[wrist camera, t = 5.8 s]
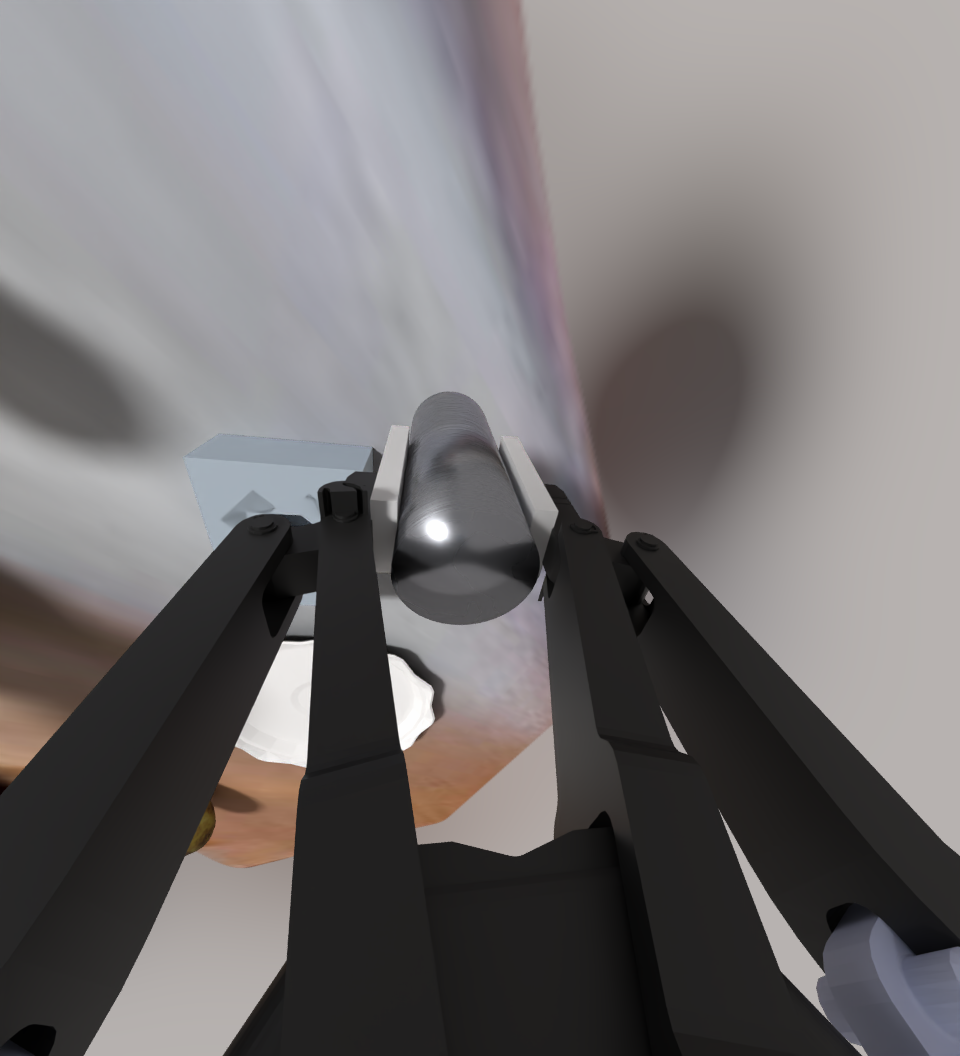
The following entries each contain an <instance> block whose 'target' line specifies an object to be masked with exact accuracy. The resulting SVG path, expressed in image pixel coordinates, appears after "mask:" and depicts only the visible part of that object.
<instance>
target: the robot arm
mask: <svg viewBox="0 0 960 1056" xmlns="http://www.w3.org/2000/svg"><path fill="white" fill-rule="evenodd" d="M408 450H409V427H408V426H397V425H391V429H390V432H389V436H388V439H387V443H386V446H385V450H384V453H383V457H382V460H381V464H380V467H379V471H378V473H373V472H359V471H355V472H354V473H352V474H351V475H349V476H348V477H347V478H346V480H345V481H334V482H330V483H327V484H325V485H323V486H321V487H320V488H319V490H318V492H317V494H318V502H319V510H320V522H317V523H314V524H309V525H304V526H296V527H291V524H290V522H289V520H288V519H287V518H285V517H283V516H281V515H276V514H259V515H255V516H251V517H249V518H247V519H244V520H242V521H241V522H240V523H238V524H237V525H236V526H235V527H234V528H233V529H232V530H231V532H230V533H229V534H228V535H227V536H226V537H225V539H224V540H223V541H222V542H221V543H220V544H219V545H218V547H217V548H216V549H215V550H214V551H213V552H212V553H211V555H210V556H209V557H208V558H207V559H206V560H205V561H204V563H203V564H202V565H201V566H200V567H199V568H198V570H197V571H196V572H195V573H194V574H193V575H192V576H191V578H190V579H189V580H188V581H187V582H186V583H185V584H184V586H183V587H182V588H181V589H180V590H179V591H178V592H177V594H176V595H175V596H174V597H173V598H172V599H171V600H170V602H169V603H168V604H167V605H166V606H165V607H164V609H163V610H162V611H161V612H160V613H159V614H158V615H157V617H156V618H155V619H154V620H153V621H152V622H151V623H150V625H149V626H148V627H147V628H146V629H145V630H144V631H143V633H142V634H141V635H140V636H139V637H138V638H137V640H136V641H135V642H134V643H133V644H132V645H131V646H130V648H129V649H128V650H127V651H126V652H125V653H124V654H123V656H122V657H121V658H120V659H119V660H118V661H117V662H116V664H115V665H114V666H113V667H112V668H111V669H110V670H109V672H108V673H107V674H106V675H105V676H104V677H103V679H102V680H101V681H100V682H99V683H98V684H97V685H96V687H95V688H94V689H93V690H92V691H91V692H90V693H89V695H88V696H87V697H86V698H85V699H84V700H83V701H82V703H81V704H80V705H79V706H78V707H77V708H76V710H75V711H74V712H73V713H72V714H71V715H70V716H69V718H68V719H67V720H66V721H65V722H64V723H63V724H62V726H61V727H60V728H59V729H58V730H57V731H56V732H55V734H54V735H53V736H52V737H51V738H50V739H49V740H48V742H47V743H46V744H45V745H44V746H43V747H42V749H41V750H40V751H39V752H38V753H37V754H36V755H35V757H34V758H33V759H32V760H31V761H30V762H29V763H28V765H27V766H26V767H25V768H24V769H23V770H22V771H21V773H20V774H19V775H18V776H17V777H16V778H15V779H14V781H13V782H12V783H11V784H10V785H9V786H8V788H7V789H6V790H5V791H4V792H3V793H2V794H1V796H0V1056H84V1054H85V1052H86V1051H87V1049H88V1047H89V1045H90V1044H91V1042H92V1040H93V1038H94V1037H95V1035H96V1033H97V1032H98V1030H99V1028H100V1026H101V1025H102V1023H103V1021H104V1019H105V1018H106V1016H107V1014H108V1012H109V1011H110V1009H111V1007H112V1005H113V1004H114V1002H115V1000H116V998H117V997H118V995H119V993H120V992H121V990H122V988H123V986H124V984H125V981H126V979H127V978H128V976H129V974H130V972H131V969H132V968H133V966H134V963H135V962H136V959H137V958H138V956H139V954H140V952H141V950H142V948H143V946H144V943H145V941H146V939H147V937H148V935H149V933H150V931H151V929H152V927H153V924H154V922H155V920H156V918H157V916H158V914H159V911H160V909H161V907H162V905H163V903H164V900H165V898H166V896H167V894H168V892H169V890H170V887H171V885H172V883H173V881H174V879H175V876H176V874H177V872H178V870H179V868H180V865H181V863H182V861H183V859H184V857H185V854H186V852H187V850H188V848H189V846H190V844H191V841H192V839H193V837H194V835H195V833H196V830H197V828H198V826H199V824H200V822H201V819H202V817H203V815H204V813H205V811H206V808H207V806H208V804H209V802H210V800H211V798H212V795H213V793H214V791H215V789H216V787H217V784H218V782H219V780H220V778H221V776H222V773H223V771H224V769H225V767H226V765H227V762H228V760H229V758H230V756H231V754H232V752H233V749H234V747H235V745H236V743H237V741H238V738H239V736H240V734H241V732H242V730H243V727H244V725H245V723H246V721H247V719H248V717H249V714H250V712H251V710H252V708H253V706H254V703H255V701H256V699H257V697H258V695H259V692H260V690H261V688H262V686H263V684H264V681H265V679H266V677H267V675H268V673H269V671H270V668H271V666H272V664H273V662H274V660H275V657H276V655H277V653H278V651H279V649H280V646H281V644H282V642H283V640H284V638H285V635H286V633H287V631H288V629H289V627H290V625H291V622H292V620H293V618H294V616H295V614H296V611H297V609H298V607H299V605H300V603H301V600H302V597H303V594H308V593H313V592H316V607H315V625H314V643H313V661H312V679H311V697H310V715H309V733H308V751H307V765H306V772H305V775H304V777H303V778H302V780H301V784H300V789H299V796H298V806H297V818H296V833H295V847H294V862H293V877H292V891H291V906H290V920H289V935H288V950H287V961H286V962H285V964H284V965H283V967H282V968H281V970H280V971H279V973H278V974H277V976H276V977H275V979H274V980H273V982H272V983H271V985H270V986H269V988H268V989H267V991H266V992H265V994H264V995H263V996H262V998H261V999H260V1001H259V1002H258V1004H257V1005H256V1007H255V1008H254V1010H253V1011H252V1013H251V1014H250V1016H249V1017H248V1019H247V1020H246V1022H245V1023H244V1025H243V1026H242V1028H241V1029H240V1031H239V1032H238V1034H237V1035H236V1037H235V1038H234V1040H233V1041H232V1043H231V1044H230V1046H229V1047H228V1049H227V1050H226V1052H225V1053H224V1055H223V1056H862V1055H861V1054H860V1053H859V1052H858V1051H857V1050H856V1049H855V1048H854V1047H853V1046H852V1045H851V1044H850V1043H849V1042H851V1043H853V1044H857V1045H860V1046H862V1047H863V1048H864V1050H865V1052H866V1053H867V1055H868V1056H960V856H959V855H958V854H957V853H956V852H954V851H953V850H952V849H951V848H950V847H948V846H947V845H946V844H945V843H944V842H943V841H942V840H941V839H940V838H939V837H938V836H937V835H936V834H935V833H934V832H933V830H932V829H931V828H930V827H929V826H928V825H927V824H926V823H925V822H924V821H923V820H922V819H921V818H920V816H918V815H917V813H916V812H915V811H914V810H913V809H912V808H911V807H910V806H909V805H908V804H907V803H906V802H905V800H904V799H903V798H902V797H901V796H900V795H899V794H898V793H897V792H896V791H895V790H894V789H893V788H892V787H891V785H890V784H889V783H888V782H887V781H886V780H885V779H884V778H883V777H882V776H881V775H880V774H879V773H878V772H877V771H876V769H875V768H874V767H873V766H872V765H871V764H870V763H869V762H868V761H867V760H866V759H865V758H864V756H863V755H862V754H861V753H860V752H859V751H858V750H857V749H856V748H855V747H854V746H853V745H852V744H851V743H850V741H849V740H848V739H847V738H846V737H845V736H844V735H843V734H842V733H841V732H840V731H839V730H838V729H837V728H836V726H835V725H833V723H832V722H831V721H830V720H829V719H828V718H827V717H826V716H825V715H824V714H823V713H822V711H821V710H820V709H819V708H818V707H817V706H816V705H815V704H814V703H813V702H812V701H811V700H810V699H809V698H808V697H807V695H806V694H805V693H804V692H803V691H802V690H801V689H800V688H799V687H798V686H797V685H796V684H795V683H794V682H793V680H792V679H791V678H790V677H789V676H788V675H787V674H786V673H785V672H784V671H783V670H782V669H781V668H780V667H779V665H778V664H777V663H776V662H775V661H774V660H773V659H772V658H771V657H770V656H769V655H768V654H767V653H766V651H765V650H764V649H763V648H762V647H761V646H760V645H759V644H758V643H757V642H756V641H755V640H754V639H753V638H752V637H751V636H750V634H749V633H748V632H747V631H746V630H745V629H744V628H743V627H742V626H741V625H740V624H739V623H738V622H737V620H736V619H735V618H734V617H733V616H732V615H731V614H730V613H729V612H728V611H727V610H726V609H725V607H724V606H723V605H722V604H721V603H720V602H719V601H718V600H717V599H716V598H715V597H714V596H713V595H712V594H711V593H710V592H709V590H708V589H707V588H706V587H705V586H704V585H703V584H702V583H701V582H700V581H699V580H698V579H697V577H696V576H695V575H694V574H693V573H692V572H691V571H690V570H689V569H688V568H687V567H686V566H685V565H684V564H683V562H682V561H681V560H680V559H679V558H678V557H677V556H676V555H675V554H674V553H673V552H672V551H671V550H670V549H669V548H668V546H667V545H666V544H665V543H663V542H662V541H661V540H659V539H658V538H656V537H654V536H653V535H650V534H647V533H640V532H632V533H630V534H628V535H627V537H626V539H625V541H624V543H623V542H619V541H615V540H611V539H607V538H604V537H603V535H602V532H601V530H600V529H599V527H597V526H596V525H595V524H593V523H591V522H589V521H587V520H584V519H580V517H579V516H578V514H577V512H576V511H575V509H574V508H573V506H572V505H571V503H570V501H569V500H568V498H567V496H566V495H565V493H564V492H563V491H562V490H561V489H560V488H558V487H557V486H556V485H549V484H543V482H542V480H541V479H540V477H539V475H538V473H537V471H536V469H535V468H534V466H533V464H532V462H531V460H530V459H529V457H528V455H527V453H526V451H525V449H524V448H523V446H522V444H521V442H520V440H519V439H518V437H513V436H501V442H500V448H499V453H500V455H501V458H502V460H503V463H504V465H505V468H506V470H507V473H508V475H509V478H510V480H511V483H512V486H513V488H514V491H515V493H516V496H517V498H518V501H519V503H520V506H521V508H522V511H523V513H524V516H525V518H526V521H527V523H528V526H529V529H530V531H531V534H532V536H533V539H534V541H535V544H536V546H537V549H538V552H539V557H540V570H539V575H540V572H541V569H542V565H543V566H544V568H545V571H546V576H545V579H544V582H543V585H542V589H541V592H540V595H539V599H538V601H541V600H542V597H543V596H544V606H545V620H546V634H547V649H548V663H549V677H550V691H551V705H552V719H553V733H554V748H555V761H556V776H557V790H558V805H557V812H556V818H555V825H554V840H552V841H550V842H548V843H546V844H544V845H542V846H540V847H538V848H536V849H534V850H532V851H530V852H528V853H526V854H524V855H521V856H517V857H514V856H508V855H504V854H500V853H496V852H492V851H488V850H484V849H480V848H476V847H472V846H468V845H464V844H460V843H455V842H444V843H432V844H421V845H418V844H417V838H416V831H415V824H414V817H413V810H412V803H411V796H410V789H409V782H408V775H407V769H406V763H405V758H404V753H403V751H402V749H401V746H400V740H399V733H398V726H397V719H396V712H395V704H394V697H393V690H392V682H391V675H390V668H389V661H388V653H387V646H386V639H385V632H384V624H383V617H382V610H381V602H380V595H379V588H378V581H377V573H391V563H392V557H393V550H394V543H395V536H396V531H397V526H398V519H399V512H400V505H401V498H402V491H403V484H404V477H405V470H406V463H407V456H408ZM539 575H538V577H539ZM648 591H650V593H651V594H652V596H653V597H654V599H653V600H652V602H651V604H648V603H647V601H646V600H645V596H646V594H647V592H648ZM660 706H661V708H662V710H663V712H664V713H665V715H666V717H667V718H668V720H669V722H670V724H671V726H672V728H673V729H674V731H675V733H676V735H677V736H678V738H679V740H680V742H681V743H682V745H683V747H684V749H685V750H686V752H687V754H688V755H687V754H684V753H681V752H679V751H678V750H677V749H676V748H675V747H674V744H673V742H672V740H671V737H670V734H669V731H668V729H667V726H666V723H665V720H664V717H663V714H662V711H661V708H660ZM719 810H720V812H721V814H722V816H723V818H724V819H725V821H726V823H727V825H728V826H729V828H730V830H731V832H732V833H733V835H734V837H735V839H736V840H737V842H738V844H739V846H740V848H741V849H742V851H743V853H744V855H745V856H746V858H747V860H748V862H749V863H750V865H751V867H752V868H753V870H754V872H755V873H756V875H757V877H758V878H759V880H760V882H761V883H762V885H763V886H764V888H765V890H766V891H767V893H768V895H769V896H770V898H771V900H772V901H773V903H774V904H775V905H776V907H777V908H778V910H779V911H780V913H781V914H782V916H783V917H784V918H785V920H786V921H787V923H788V924H789V926H790V927H791V929H792V930H793V932H794V933H795V935H796V936H797V938H798V939H799V940H800V942H801V943H802V944H803V945H804V947H805V948H806V949H807V951H808V952H809V953H810V955H811V956H812V957H813V958H814V960H815V961H816V962H817V964H818V965H819V966H820V968H821V969H822V970H823V972H824V973H825V974H826V975H825V976H824V977H821V978H819V979H818V982H817V987H816V989H817V993H818V997H819V1002H820V1004H821V1006H822V1008H823V1010H824V1012H825V1014H826V1016H827V1018H828V1019H829V1021H830V1022H831V1023H832V1024H831V1023H830V1022H829V1021H828V1020H827V1019H826V1018H825V1017H824V1016H823V1015H822V1014H821V1013H820V1012H819V1011H818V1010H817V1009H816V1008H815V1006H814V1005H813V1004H811V1002H810V1001H809V1000H808V999H807V998H806V997H805V996H804V995H803V994H802V993H801V992H800V991H799V990H798V989H797V988H796V987H795V986H794V985H793V984H792V983H791V982H790V980H788V979H787V977H786V976H785V975H784V974H783V973H782V972H781V971H780V969H779V966H778V964H777V961H776V958H775V956H774V953H773V950H772V948H771V945H770V943H769V940H768V937H767V935H766V932H765V930H764V927H763V925H762V922H761V919H760V917H759V914H758V912H757V909H756V906H755V904H754V901H753V898H752V896H751V893H750V890H749V888H748V885H747V883H746V880H745V877H744V875H743V872H742V869H741V867H740V864H739V862H738V859H737V856H736V854H735V851H734V848H733V846H732V843H731V841H730V838H729V835H728V833H727V830H726V828H725V825H724V822H723V820H722V817H721V815H720V812H719ZM845 1038H846V1039H847V1040H848V1041H849V1042H848V1041H847V1040H846V1039H845Z"/></svg>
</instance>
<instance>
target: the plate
mask: <svg viewBox="0 0 960 1056" xmlns="http://www.w3.org/2000/svg"><path fill="white" fill-rule="evenodd" d="M313 643H314V639H311V640H304V641H290V640H283V642H282V644H281V646H280V649H279V651H278V653H277V655H276V657H275V660H274V662H273V664H272V666H271V668H270V671H269V673H268V675H267V677H266V679H265V681H264V684H263V686H262V688H261V690H260V692H259V695H258V697H257V699H256V701H255V703H254V706H253V708H252V710H251V712H250V714H249V717H248V719H247V721H246V723H245V725H244V727H243V730H242V732H241V734H240V736H239V738H238V741H237V743H236V745H235V747H238V748H240V749H242V750H244V751H246V752H247V753H249V754H250V755H252V756H253V757H255V758H257V759H259V760H263V761H267V762H278V763H288V764H293V765H297V766H302V767H306V765H307V751H308V733H309V715H310V697H311V679H312V661H313ZM388 661H389V668H390V675H391V682H392V690H393V697H394V704H395V712H396V719H397V726H398V733H399V740H400V746H401V749H402V750H405V749H407V748H409V747H410V746H412V745H413V743H414V742H415V740H416V739H417V737H418V736H419V734H421V733H422V732H423V731H424V730H426V729H427V728H428V727H429V726H431V725H432V724H433V722H434V720H435V716H434V712H433V709H432V701H433V696H434V689H433V687H432V685H431V684H429V683H428V682H426V681H425V680H424V679H422V678H421V677H419V676H418V675H416V674H415V673H414V672H413V670H412V669H411V668H410V666H409V665H408V664H407V662H406V661H405V660H404V659H403V658H401V657H399V656H398V655H396V654H391V653H388Z"/></svg>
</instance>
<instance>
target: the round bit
mask: <svg viewBox="0 0 960 1056" xmlns="http://www.w3.org/2000/svg"><path fill="white" fill-rule="evenodd" d="M539 570H540V557H539V552H538V549H537V546H536V544H535V541H534V539H533V536H532V534H531V531H530V529H529V526H528V523H527V521H526V518H525V516H524V513H523V511H522V508H521V506H520V503H519V501H518V498H517V496H516V493H515V491H514V488H513V486H512V483H511V480H510V478H509V475H508V473H507V470H506V468H505V465H504V463H503V460H502V458H501V455H500V453H499V450H498V448H497V445H496V443H495V440H494V437H493V435H492V432H491V430H490V427H489V425H488V422H487V420H486V417H485V415H484V413H483V411H482V409H481V408H480V406H479V405H478V404H477V403H476V402H475V401H474V400H473V399H471V398H470V397H468V396H466V395H464V394H461V393H457V392H441V393H437V394H435V395H432V396H431V397H429V398H427V399H426V400H425V401H424V402H423V403H422V404H421V405H420V406H419V407H418V409H417V410H416V412H415V415H414V417H413V421H412V427H411V434H410V441H409V450H408V456H407V463H406V470H405V477H404V484H403V491H402V498H401V505H400V512H399V519H398V526H397V531H396V536H395V543H394V550H393V557H392V563H391V580H392V584H393V587H394V589H395V591H396V593H397V595H398V596H399V598H400V599H401V601H402V602H403V603H404V604H405V605H406V606H407V607H408V608H410V609H411V610H412V611H414V612H415V613H417V614H418V615H420V616H422V617H424V618H427V619H429V620H432V621H436V622H440V623H445V624H454V625H467V624H476V623H481V622H485V621H488V620H492V619H494V618H497V617H499V616H502V615H503V614H505V613H507V612H509V611H511V610H512V609H514V608H515V607H516V606H518V605H519V604H520V603H521V602H522V601H523V600H524V599H525V598H526V597H527V596H528V595H529V593H530V592H531V591H532V589H533V587H534V585H535V583H536V581H537V578H538V575H539Z"/></svg>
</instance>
